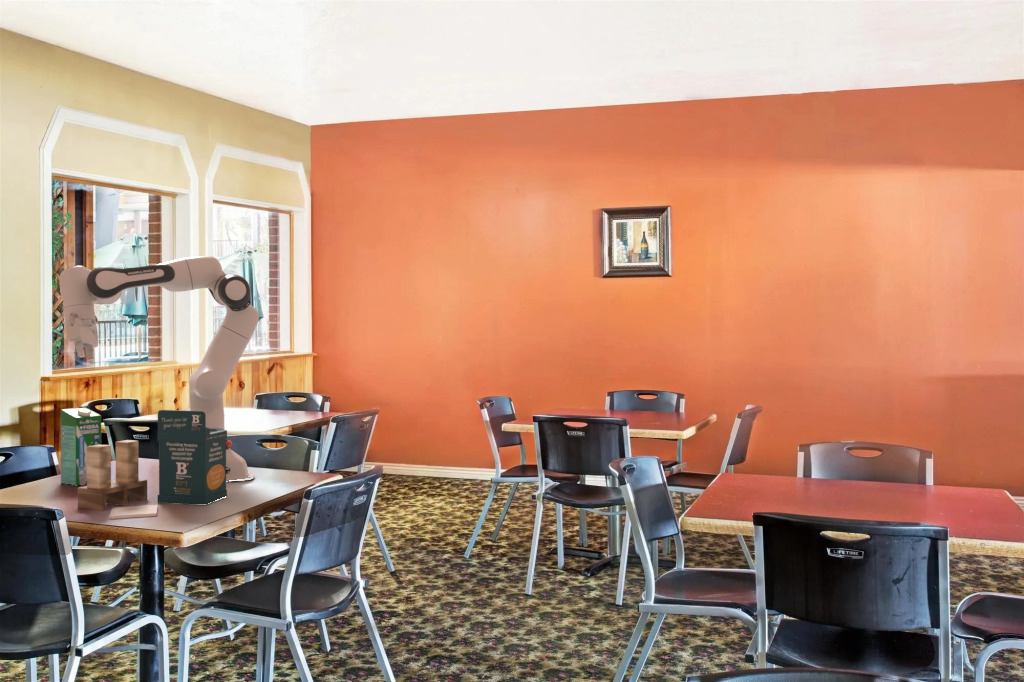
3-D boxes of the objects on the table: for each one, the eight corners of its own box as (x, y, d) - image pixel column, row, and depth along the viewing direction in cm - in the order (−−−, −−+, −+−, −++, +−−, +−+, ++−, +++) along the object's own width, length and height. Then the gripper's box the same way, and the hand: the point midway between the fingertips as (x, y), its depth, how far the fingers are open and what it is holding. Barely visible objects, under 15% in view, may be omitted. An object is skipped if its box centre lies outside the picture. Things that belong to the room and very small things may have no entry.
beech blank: (126, 478, 272) (126, 440, 271) (138, 479, 270) (138, 440, 270) (115, 481, 267) (115, 441, 267) (127, 482, 266) (127, 442, 266)
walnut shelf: (124, 497, 274) (123, 477, 274) (147, 499, 271) (147, 479, 271) (77, 508, 257) (77, 487, 257) (102, 510, 254) (102, 489, 254)
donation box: (157, 502, 266) (157, 409, 265) (188, 492, 281) (188, 405, 281) (205, 505, 262) (205, 411, 261) (234, 495, 278) (234, 406, 277)
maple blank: (99, 485, 261) (98, 444, 261) (111, 486, 260) (110, 445, 260) (87, 487, 257) (86, 446, 257) (99, 488, 255) (99, 447, 255)
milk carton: (76, 486, 291) (76, 410, 291) (60, 483, 296) (60, 409, 296) (101, 482, 299) (101, 408, 298) (85, 479, 304) (85, 407, 303)
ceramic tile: (157, 507, 258) (157, 504, 258) (156, 516, 247) (156, 513, 247) (112, 510, 254) (112, 507, 254) (109, 519, 243) (109, 516, 243)
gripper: (80, 309, 274) (86, 353, 272) (98, 319, 294) (105, 360, 292) (58, 313, 272) (65, 356, 271) (78, 322, 292) (85, 363, 291)
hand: (86, 358), depth 282 cm, fingers open, 8 cm apart
